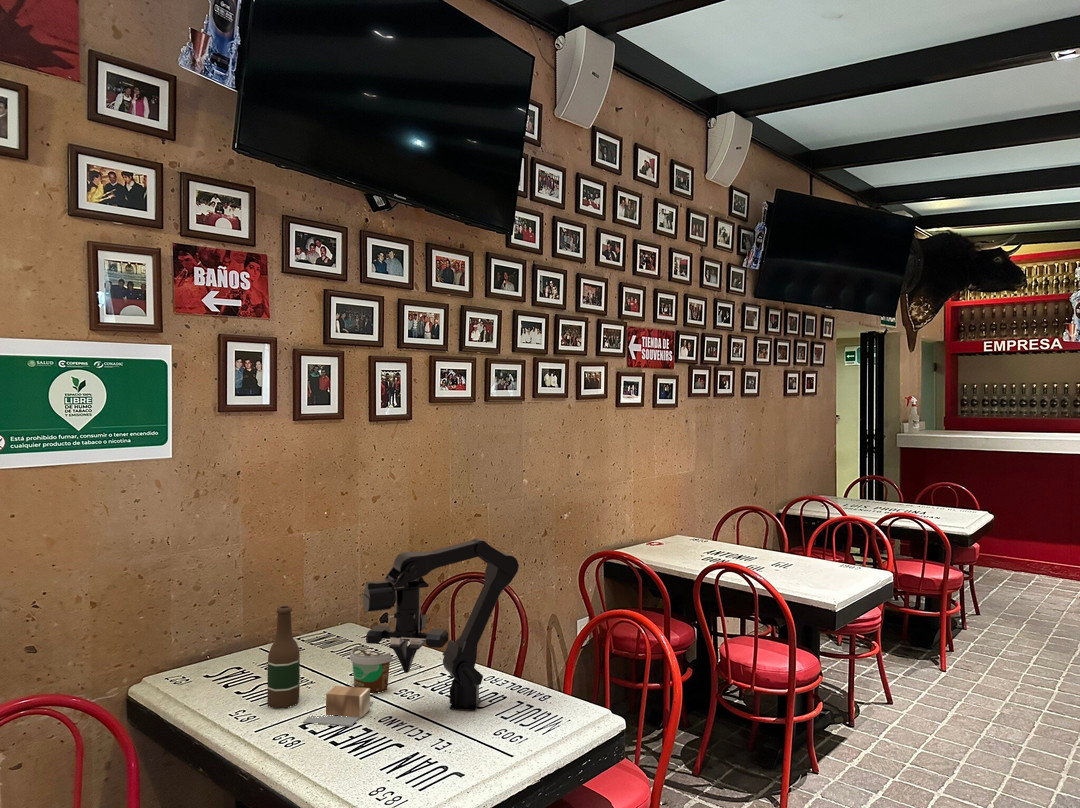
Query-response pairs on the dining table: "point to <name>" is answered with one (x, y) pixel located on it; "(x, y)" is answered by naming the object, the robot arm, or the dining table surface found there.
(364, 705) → the block
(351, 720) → the mat
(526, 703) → the dining table surface
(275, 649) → the beer bottle
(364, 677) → the food container
